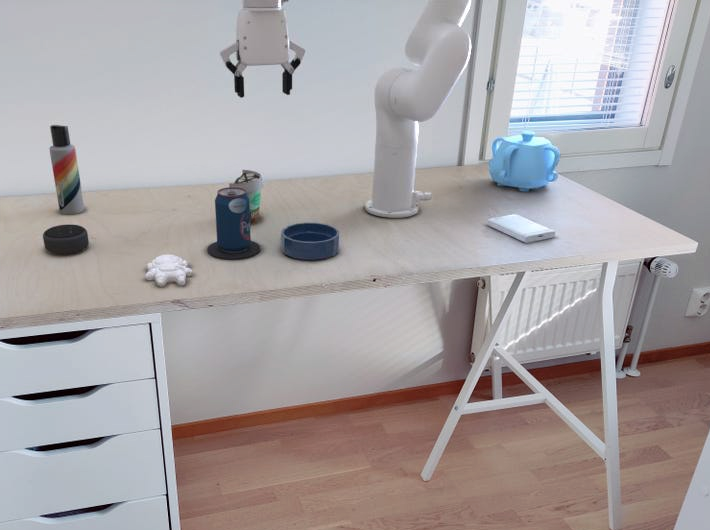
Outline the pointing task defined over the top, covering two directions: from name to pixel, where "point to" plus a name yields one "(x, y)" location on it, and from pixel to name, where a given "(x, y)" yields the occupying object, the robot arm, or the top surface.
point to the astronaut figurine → (168, 270)
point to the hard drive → (521, 228)
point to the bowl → (310, 241)
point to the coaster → (218, 253)
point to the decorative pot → (524, 161)
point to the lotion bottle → (65, 171)
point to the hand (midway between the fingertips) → (263, 95)
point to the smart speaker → (65, 239)
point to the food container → (251, 191)
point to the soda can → (232, 219)
